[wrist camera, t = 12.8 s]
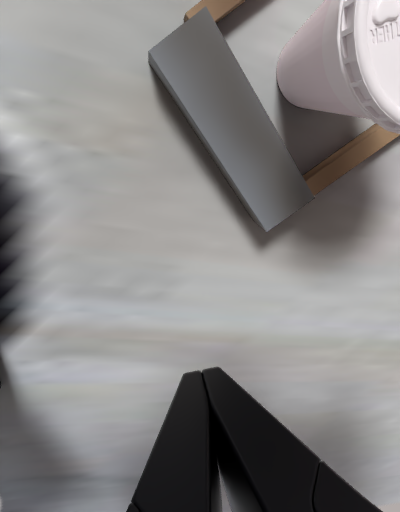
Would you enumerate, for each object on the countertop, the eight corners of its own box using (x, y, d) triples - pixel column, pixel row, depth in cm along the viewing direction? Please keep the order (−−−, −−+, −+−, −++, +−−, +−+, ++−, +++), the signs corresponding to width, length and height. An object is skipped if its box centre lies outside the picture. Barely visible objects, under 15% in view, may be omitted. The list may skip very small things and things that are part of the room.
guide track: (257, 227, 21) (271, 239, 19) (142, 52, 17) (140, 39, 15) (535, 30, 19) (588, 16, 17) (476, -211, 16) (533, -271, 13)
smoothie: (328, -34, 17) (923, -578, 4) (388, 81, 19) (900, -28, 6) (226, 59, 18) (447, -145, 5) (295, 159, 20) (577, 211, 7)
